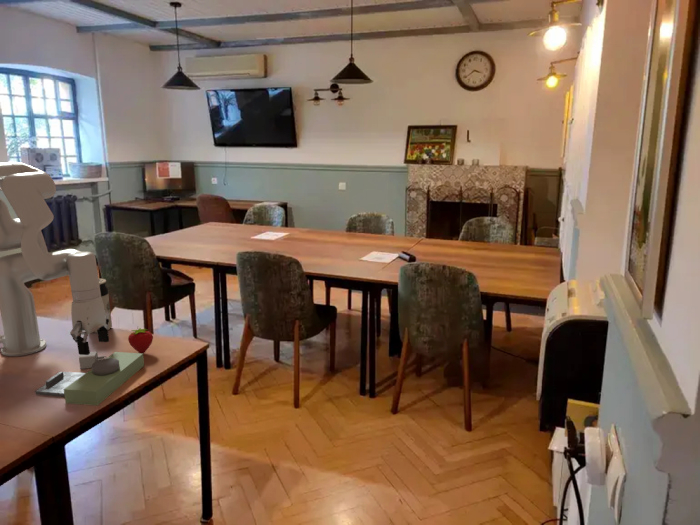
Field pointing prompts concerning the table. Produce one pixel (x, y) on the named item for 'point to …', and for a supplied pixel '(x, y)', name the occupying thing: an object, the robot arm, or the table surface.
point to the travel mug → (105, 300)
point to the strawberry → (140, 340)
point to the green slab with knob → (103, 378)
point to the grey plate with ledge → (58, 384)
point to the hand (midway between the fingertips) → (94, 347)
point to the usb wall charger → (89, 360)
